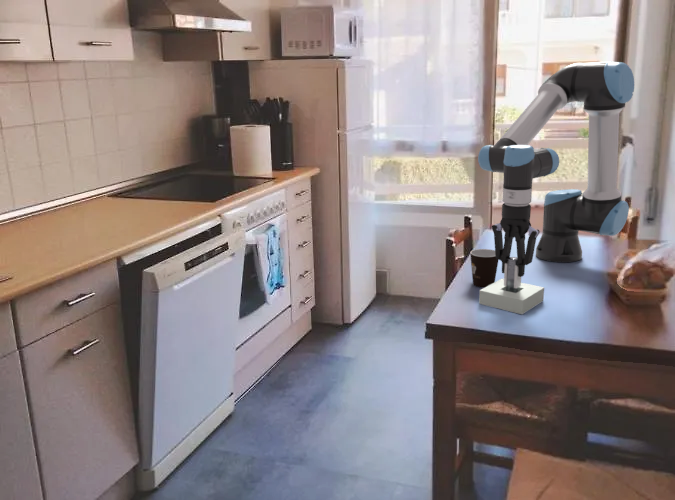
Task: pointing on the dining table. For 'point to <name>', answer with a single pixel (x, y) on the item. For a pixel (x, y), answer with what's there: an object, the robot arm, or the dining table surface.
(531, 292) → the hole block
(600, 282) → the dining table surface
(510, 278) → the peg
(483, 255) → the coffee mug
